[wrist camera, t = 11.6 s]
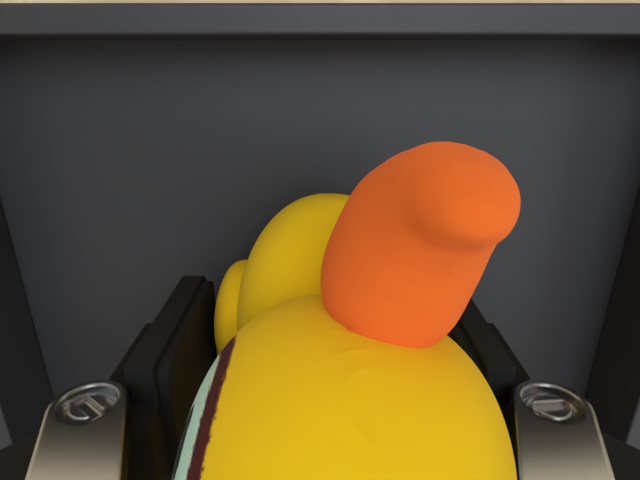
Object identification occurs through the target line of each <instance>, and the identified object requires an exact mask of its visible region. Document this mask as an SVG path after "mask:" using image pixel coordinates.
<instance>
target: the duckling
mask: <svg viewBox="0 0 640 480" xmlns="http://www.w3.org/2000/svg"><path fill="white" fill-rule="evenodd" d="M520 205H521V199H520V192H519V189H518V186H517V184H516V182H515V180H514V178H513V177H512V175H511V174H510V172H509V171H508V169H507V168H506V167H505V166H504V165H503V164H502V163H501V162H500V161H499V160H498V159H496V158H495V157H493V156H492V155H490V154H488V153H487V152H485V151H482V150H479V149H477V148H474V147H471V146H469V145H466V144H460V143H454V142H448V141H445V142H429V143H426V144H422V145H419V146H417V147H414V148H412V149H409V150H406V151H403V152H401V153H399V154H397V155H395V156H393V157H391V158H390V159H388V160H386V161H385V162H384V163H382V164H380V165H379V166H378V167H376V168H375V169H374V170H372V171H371V172H370V173H369V174H367V175H366V176H365V177H364V178H363V179H362V180H361V181H360V183H359V184H358V185H357V186H356V188H355V189H354V190H353V192H352V193H351V195H345V194H337V193H321V194H314V195H309V196H306V197H303V198H301V199H298V200H296V201H294V202H292V203H291V204H289V205H288V206H286V207H285V208H284V209H282V210H281V211H280V212H279V213H278V214H277V215H275V216H274V218H273V219H272V220H271V221H270V222H269V223H268V224H267V226H266V227H265V228H264V230H263V231H262V233H261V234H260V236H259V237H258V239H257V241H256V243H255V245H254V247H253V249H252V251H251V253H250V256H249V258H248V260H240V261H237V262H235V263H234V264H233V265H232V266H231V267H230V268H229V269H228V271H227V272H226V274H225V276H224V278H223V281H222V283H221V286H220V289H219V293H218V297H217V301H216V307H215V315H214V337H215V343H216V347H217V358H216V360H215V361H214V363H213V365H212V366H211V368H210V369H209V371H208V373H207V375H206V377H205V378H204V380H203V382H202V384H201V386H200V388H199V391H198V393H197V395H196V397H195V400H194V402H193V405H192V407H191V410H190V413H189V416H188V418H187V421H186V425H185V428H184V431H183V434H182V438H181V441H180V445H179V448H178V452H177V456H176V461H175V465H174V470H173V475H172V480H517V472H516V465H515V459H514V454H513V449H512V445H511V441H510V437H509V433H508V430H507V427H506V423H505V420H504V418H503V415H502V412H501V410H500V407H499V405H498V403H497V400H496V398H495V396H494V394H493V392H492V390H491V388H490V386H489V385H488V383H487V381H486V379H485V378H484V376H483V375H482V373H481V372H480V370H479V369H478V367H477V366H476V365H475V363H474V362H473V361H472V359H471V358H470V357H469V356H468V355H467V354H466V352H465V351H464V350H463V349H462V348H461V347H460V346H459V345H458V344H457V343H456V342H454V341H453V340H452V339H451V338H450V337H449V336H447V334H448V333H449V332H450V331H451V330H452V329H453V327H454V326H455V325H456V323H457V322H458V320H459V319H460V317H461V315H462V314H463V312H464V310H465V308H466V306H467V304H468V302H469V300H470V298H471V296H472V294H473V292H474V290H475V288H476V287H477V285H478V283H479V281H480V279H481V276H482V274H483V272H484V270H485V267H486V265H487V263H488V261H489V258H490V256H491V254H492V252H493V251H494V249H495V247H496V245H497V243H499V242H500V241H502V240H503V239H504V238H505V237H506V236H507V235H508V234H509V233H510V232H511V231H512V229H513V228H514V226H515V224H516V222H517V219H518V216H519V212H520Z"/></svg>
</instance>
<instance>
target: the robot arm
mask: <svg viewBox="0 0 640 480" xmlns="http://www.w3.org/2000/svg"><path fill="white" fill-rule="evenodd" d="M215 307H216V302H215V292H214V284H213V281H207V280H206V277H205V276H183V277H182V278H181V279H180V281H179V282H178V284H177V285H176V287H175V289H174V290H173V292H172V293H171V295H170V296H169V298H168V299H167V301H166V303H165V304H164V306H163V307H162V309H161V310H160V312H159V313H158V315H157V316H156V318H155V320H154V321H153V323H147V324H146V325H145V326H144V327H143V328H142V330H141V331H140V333H139V334H138V336H137V337H136V339H135V340H134V342H133V343H132V345H131V346H130V348H129V349H128V351H127V352H126V354H125V355H124V357H123V358H122V360H121V361H120V363H119V364H118V366H117V367H116V369H115V370H114V372H113V373H112V375H111V376H110V378H109V379H108V380H94V381H89V382H85V383H81V384H78V385H76V386H74V387H72V388H69V389H67V390H66V391H64V392H63V393H61V394H60V395H58V396H57V397H56V398H55V399H54V400H53V401H52V402H51V403H50V404H49V406H48V408H47V410H46V412H45V415H44V418H43V421H42V424H41V428H40V431H38V432H36V433H34V434H32V435H30V436H28V437H26V438H24V439H22V440H20V441H17V442H15V443H13V444H11V445H9V446H7V447H5V448H3V449H1V450H0V480H172V475H173V470H174V465H175V461H176V456H177V452H178V448H179V445H180V441H181V438H182V434H183V431H184V428H185V425H186V421H187V418H188V416H189V413H190V410H191V407H192V405H193V402H194V400H195V397H196V395H197V393H198V391H199V388H200V386H201V384H202V382H203V380H204V378H205V377H206V375H207V373H208V371H209V369H210V368H211V366H212V365H213V363H214V361H215V360H216V358H217V347H216V343H215V337H214V315H215ZM447 336H449V337H450V338H451V339H452V340H453V341H454V342H456V343H457V344H458V345H459V346H460V347H461V348H462V349H463V350H464V351H465V352H466V354H467V355H468V356H469V357H470V358H471V359H472V361H473V362H474V363H475V365H476V366H477V367H478V369H479V370H480V372H481V373H482V375H483V376H484V378H485V379H486V381H487V383H488V385H489V386H490V388H491V390H492V392H493V394H494V396H495V398H496V400H497V403H498V405H499V407H500V410H501V412H502V415H503V418H504V420H505V423H506V427H507V430H508V433H509V437H510V441H511V445H512V449H513V454H514V459H515V465H516V472H517V480H640V450H639V449H637V448H635V447H633V446H631V445H629V444H627V443H624V442H622V441H620V440H618V439H616V438H614V437H612V436H610V435H608V434H606V433H604V432H601V431H600V428H599V424H598V421H597V418H596V415H595V412H594V410H593V408H592V406H591V404H590V403H589V402H588V401H587V400H586V399H585V398H584V397H583V396H582V395H580V394H579V393H577V392H576V391H574V390H573V389H571V388H568V387H566V386H564V385H562V384H559V383H555V382H551V381H546V380H531V378H530V377H529V375H528V374H527V372H526V371H525V369H524V368H523V366H522V365H521V363H520V362H519V360H518V359H517V357H516V356H515V354H514V353H513V351H512V350H511V348H510V347H509V345H508V344H507V342H506V341H505V339H504V338H503V336H502V335H501V333H500V332H499V330H498V329H497V327H496V326H495V325H494V324H493V323H487V322H486V320H485V318H484V317H483V315H482V314H481V312H480V311H479V309H478V308H477V306H476V304H475V303H474V301H473V300H472V298H470V300H469V302H468V304H467V306H466V308H465V310H464V312H463V314H462V315H461V317H460V319H459V320H458V322H457V323H456V325H455V326H454V327H453V329H452V330H451V331H450V332H449V333H448V334H447Z"/></svg>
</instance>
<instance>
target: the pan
mask: <svg viewBox="0 0 640 480" xmlns="http://www.w3.org/2000/svg"><path fill="white" fill-rule="evenodd" d="M445 141H448V142H454V143H460V144H466V145H469V146H471V147H474V148H477V149H479V150H482V151H485V152H487V153H488V154H490V155H492V156H493V157H495V158H496V159H498V160H499V161H500V162H501V163H502V164H503V165H504V166H505V167H506V168H507V169H508V171H509V172H510V174H511V175H512V177H513V178H514V180H515V182H516V184H517V186H518V189H519V192H520V199H521V205H520V212H519V216H518V219H517V222H516V224H515V226H514V228H513V229H512V231H511V232H510V233H509V234H508V235H507V236H506V237H505V238H504V239H503V240H502V241H500V242H499V243H497V245H496V247H495V249H494V251H493V252H492V254H491V256H490V258H489V261H488V263H487V265H486V267H485V270H484V272H483V274H482V276H481V279H480V281H479V283H478V285H477V287H476V288H475V290H474V292H473V294H472V296H471V298H472V300H473V301H474V303H475V304H476V306H477V308H478V309H479V311H480V312H481V314H482V315H483V317H484V318H485V320H486V322H487V323H493V324H494V325H495V326H496V327H497V329H498V330H499V332H500V333H501V335H502V336H503V338H504V339H505V341H506V342H507V344H508V345H509V347H510V348H511V350H512V351H513V353H514V354H515V356H516V357H517V359H518V360H519V362H520V363H521V365H522V366H523V368H524V369H525V371H526V372H527V374H528V375H529V377H530V378H531V380H546V381H551V382H555V383H559V384H562V385H564V386H566V387H568V388H571V389H573V390H574V391H576V392H577V393H579V394H580V395H582V396H583V397H584V398H585V399H586V400H587V401H588V402H589V403H590V404H591V406H592V408H593V410H594V412H595V415H596V418H597V421H598V424H599V428H600V431H601V432H604V433H606V434H608V435H610V436H612V437H614V438H616V439H618V440H620V441H622V442H624V443H627V444H629V445H631V446H633V447H635V448H637V449H639V450H640V3H0V450H1V449H3V448H5V447H7V446H9V445H11V444H13V443H15V442H17V441H20V440H22V439H24V438H26V437H28V436H30V435H32V434H34V433H36V432H38V431H40V428H41V424H42V421H43V418H44V415H45V412H46V410H47V408H48V406H49V404H50V403H51V402H52V401H53V400H54V399H55V398H56V397H57V396H58V395H60V394H61V393H63V392H64V391H66V390H67V389H69V388H72V387H74V386H76V385H78V384H81V383H85V382H89V381H94V380H108V379H109V378H110V376H111V375H112V373H113V372H114V370H115V369H116V367H117V366H118V364H119V363H120V361H121V360H122V358H123V357H124V355H125V354H126V352H127V351H128V349H129V348H130V346H131V345H132V343H133V342H134V340H135V339H136V337H137V336H138V334H139V333H140V331H141V330H142V328H143V327H144V326H145V325H146V324H147V323H153V321H154V320H155V318H156V316H157V315H158V313H159V312H160V310H161V309H162V307H163V306H164V304H165V303H166V301H167V299H168V298H169V296H170V295H171V293H172V292H173V290H174V289H175V287H176V285H177V284H178V282H179V281H180V279H181V278H182V277H183V276H205V277H206V280H207V281H213V284H214V292H215V302H216V301H217V297H218V293H219V289H220V286H221V283H222V281H223V278H224V276H225V274H226V272H227V271H228V269H229V268H230V267H231V266H232V265H233V264H234V263H235V262H237V261H240V260H248V258H249V256H250V253H251V251H252V249H253V247H254V245H255V243H256V241H257V239H258V237H259V236H260V234H261V233H262V231H263V230H264V228H265V227H266V226H267V224H268V223H269V222H270V221H271V220H272V219H273V218H274V216H275V215H277V214H278V213H279V212H280V211H281V210H282V209H284V208H285V207H286V206H288V205H289V204H291V203H292V202H294V201H296V200H298V199H301V198H303V197H306V196H309V195H314V194H321V193H337V194H345V195H351V193H352V192H353V190H354V189H355V188H356V186H357V185H358V184H359V183H360V181H361V180H362V179H363V178H364V177H365V176H366V175H367V174H369V173H370V172H371V171H372V170H374V169H375V168H376V167H378V166H379V165H380V164H382V163H384V162H385V161H386V160H388V159H390V158H391V157H393V156H395V155H397V154H399V153H401V152H403V151H406V150H409V149H412V148H414V147H417V146H419V145H422V144H426V143H429V142H445Z"/></svg>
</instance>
